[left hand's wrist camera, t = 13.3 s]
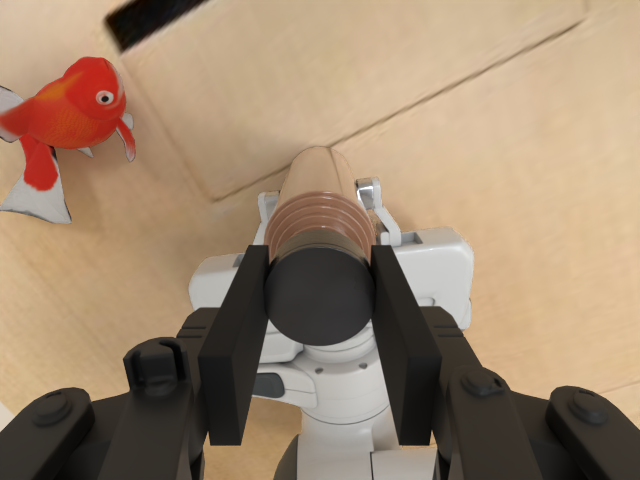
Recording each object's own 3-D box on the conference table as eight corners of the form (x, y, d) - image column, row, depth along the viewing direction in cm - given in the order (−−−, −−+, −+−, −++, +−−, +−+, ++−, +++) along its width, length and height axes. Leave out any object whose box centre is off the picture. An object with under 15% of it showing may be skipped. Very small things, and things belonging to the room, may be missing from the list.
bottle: (318, 221, 33) (316, 376, 15) (274, 177, 31) (214, 291, 13) (364, 180, 31) (423, 296, 14) (321, 132, 30) (323, 191, 12)
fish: (200, 193, 27) (44, 202, 18) (89, 230, 35) (-54, 249, 27) (165, 45, 26) (-11, -16, 18) (61, 118, 35) (-94, 99, 26)
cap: (317, 337, 16) (317, 364, 14) (247, 275, 15) (238, 297, 13) (391, 279, 15) (400, 301, 13) (322, 207, 14) (322, 223, 12)
